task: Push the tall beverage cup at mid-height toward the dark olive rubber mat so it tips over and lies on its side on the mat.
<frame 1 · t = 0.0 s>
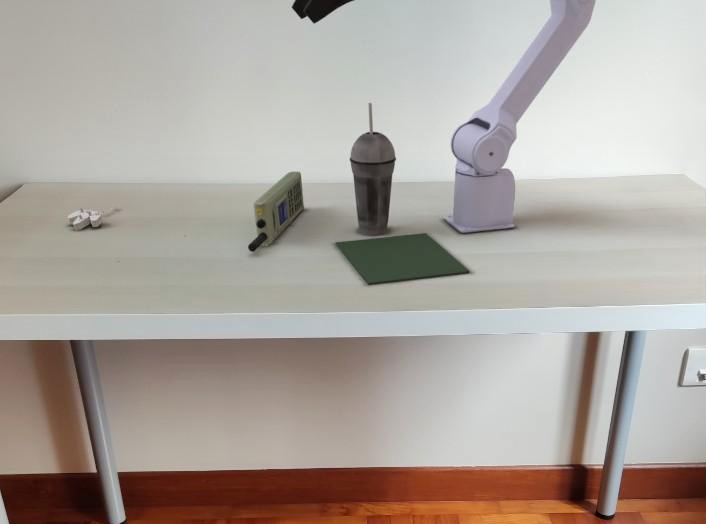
hand: (302, 15, 112), 32 cm above the table, tool tilted 50°, fingers open, 7 cm apart
mat: (399, 257, 121), on the table
handheld radio: (276, 231, 133), on the table
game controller: (98, 221, 139), on the table
beverage cup: (373, 232, 132), on the table
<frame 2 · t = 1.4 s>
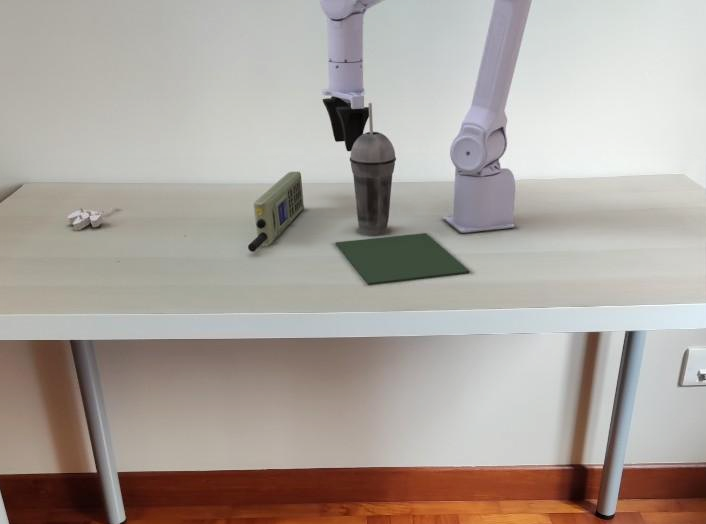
hand: (347, 145, 139), 10 cm above the table, tool pointing down, fingers open, 7 cm apart
nothing on the table moved.
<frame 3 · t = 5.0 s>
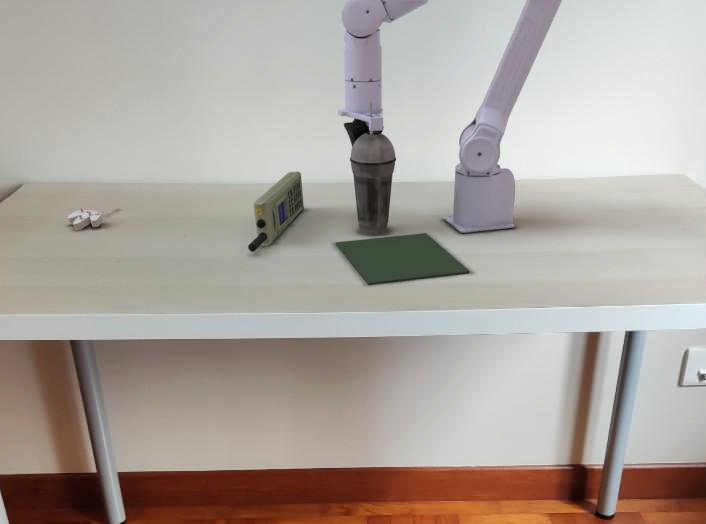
hand: (363, 168, 132), 9 cm above the table, tool pointing down, fingers closed
beverage cup: (373, 232, 132), on the table, touching gripper
everything else where it was.
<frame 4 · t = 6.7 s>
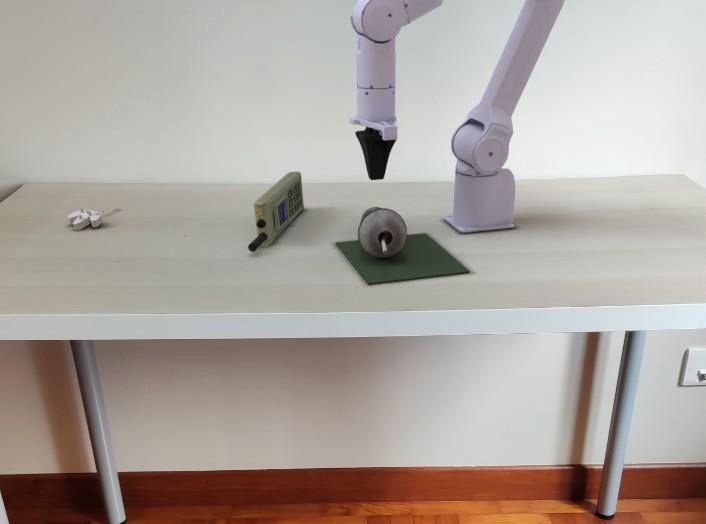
hand: (376, 178, 126), 9 cm above the table, tool pointing down, fingers closed
beverage cup: (375, 221, 130), point 2 cm above the table, touching mat
everything else where it was.
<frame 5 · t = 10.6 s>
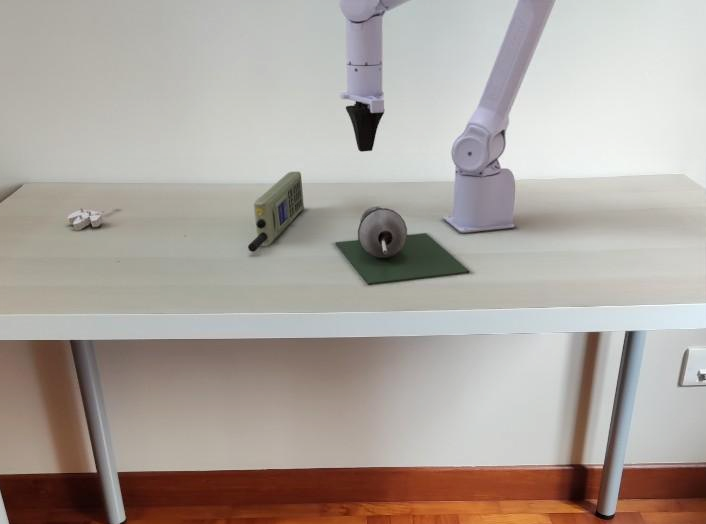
hand: (365, 150, 137), 10 cm above the table, tool pointing down, fingers closed
nothing on the table moved.
at the end: beverage cup tilted 82°; beverage cup touching mat, table; beverage cup inside the target area (10.1 cm from its centre), point 2.2 cm above the table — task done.
